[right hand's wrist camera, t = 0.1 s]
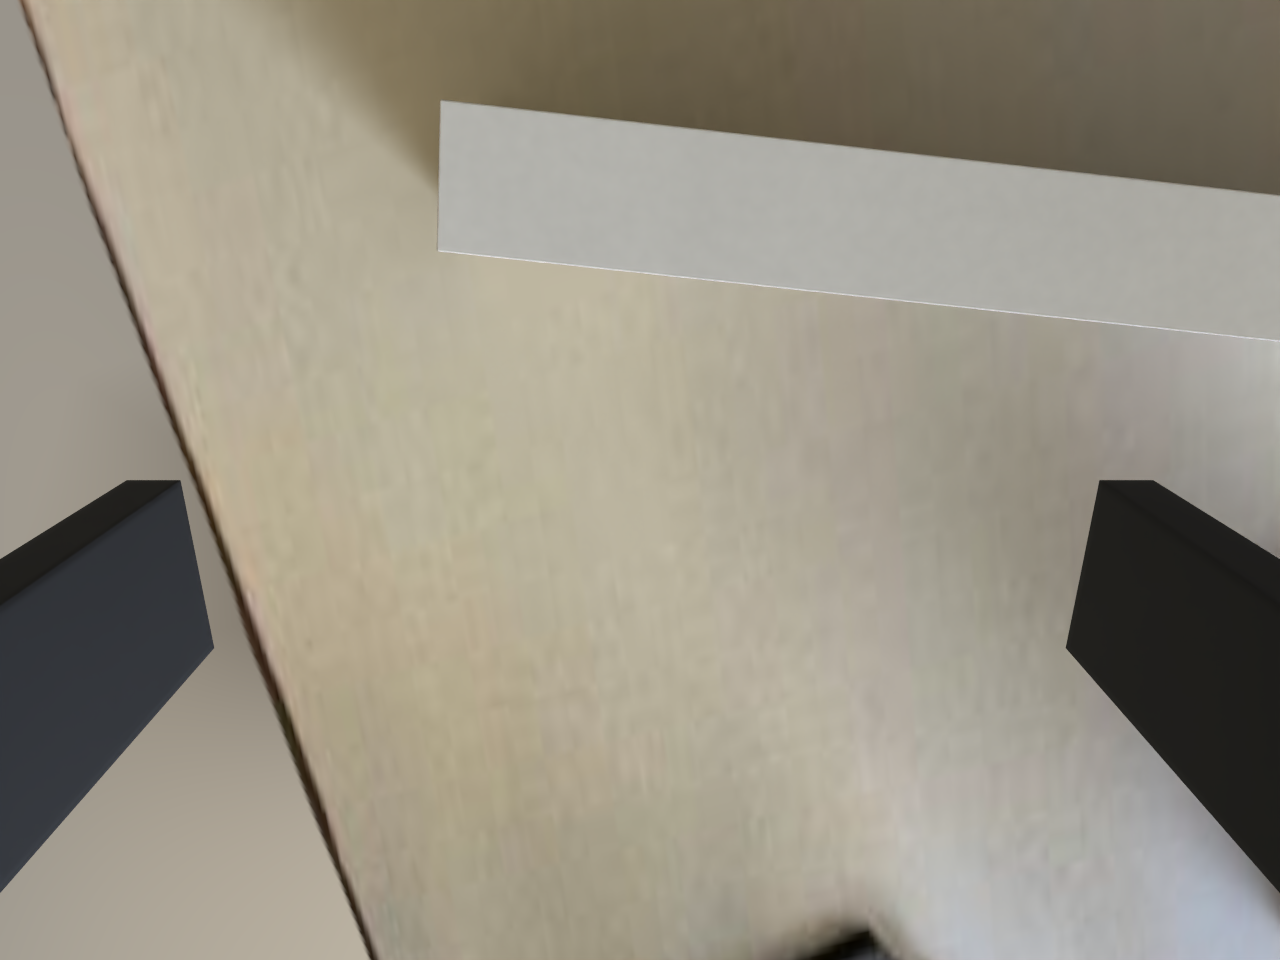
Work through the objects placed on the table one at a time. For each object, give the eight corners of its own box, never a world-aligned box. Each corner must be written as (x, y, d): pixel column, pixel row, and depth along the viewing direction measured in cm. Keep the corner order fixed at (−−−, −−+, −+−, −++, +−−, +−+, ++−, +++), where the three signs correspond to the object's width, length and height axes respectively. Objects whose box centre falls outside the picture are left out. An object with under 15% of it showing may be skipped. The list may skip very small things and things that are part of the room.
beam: (476, 233, 38) (436, 251, 31) (480, 112, 36) (439, 99, 29) (1682, 364, 40) (1922, 410, 33) (1741, 255, 38) (2008, 277, 31)
